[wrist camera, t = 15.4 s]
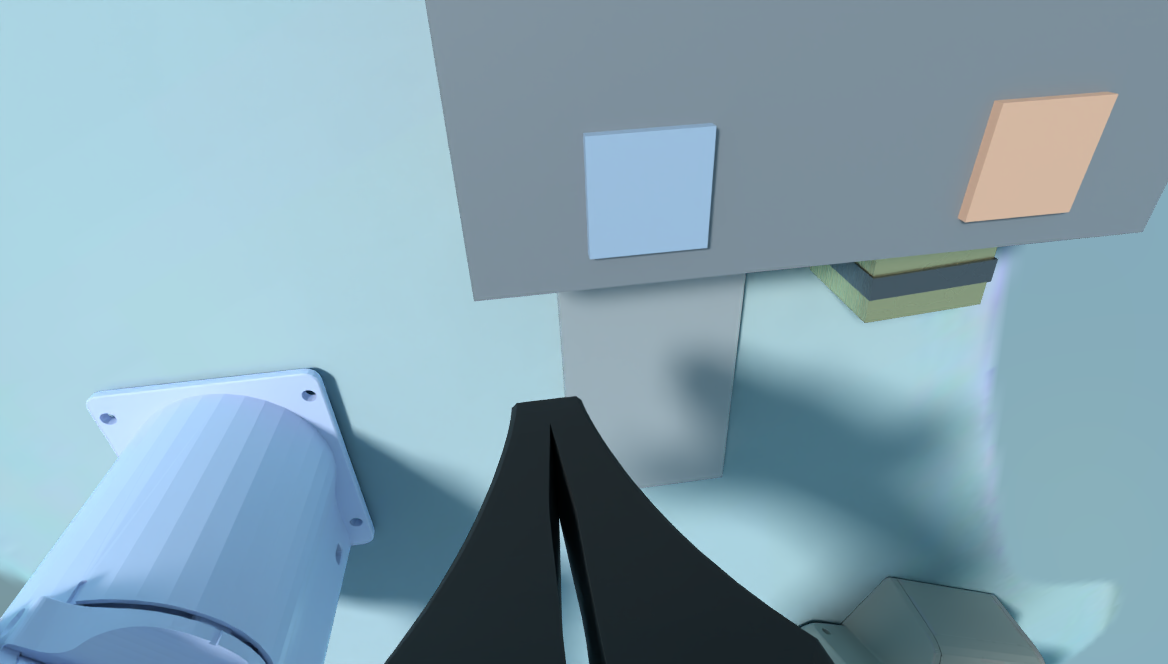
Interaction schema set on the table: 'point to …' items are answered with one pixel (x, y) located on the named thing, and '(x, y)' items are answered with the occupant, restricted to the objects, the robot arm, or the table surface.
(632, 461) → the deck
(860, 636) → the digital clock
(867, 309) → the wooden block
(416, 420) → the table surface
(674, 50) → the socket bank
